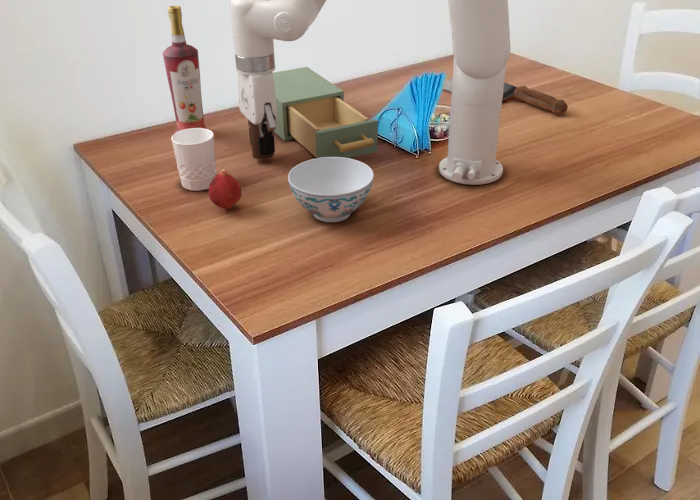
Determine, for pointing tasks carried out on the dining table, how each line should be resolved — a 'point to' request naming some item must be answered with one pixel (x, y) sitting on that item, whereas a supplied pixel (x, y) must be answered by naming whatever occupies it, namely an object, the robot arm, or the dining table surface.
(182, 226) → the dining table surface
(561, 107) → the meat cleaver
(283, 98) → the cabinet
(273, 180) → the dining table surface
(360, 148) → the drawer
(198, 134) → the white cup
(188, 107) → the liquor
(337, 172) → the chinaware
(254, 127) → the pepper mill
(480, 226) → the dining table surface
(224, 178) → the onion
